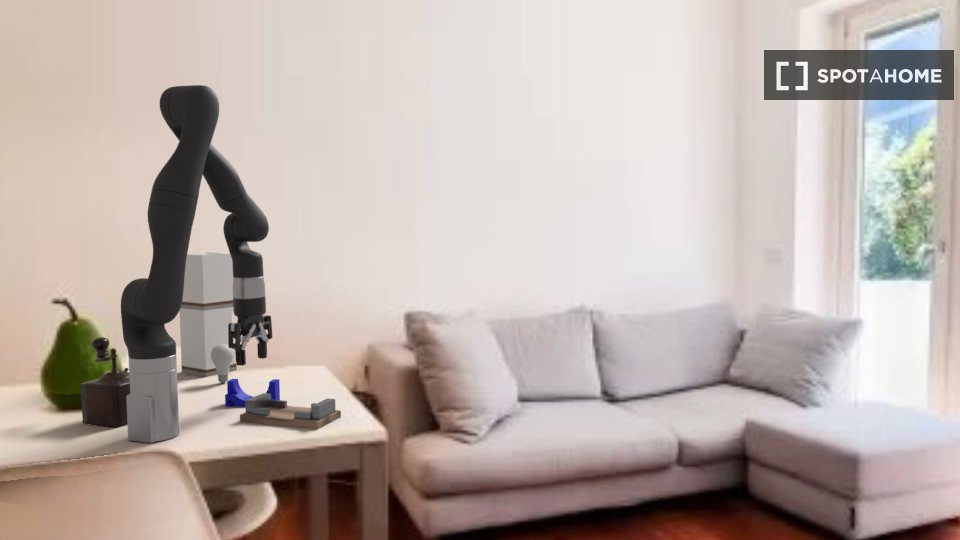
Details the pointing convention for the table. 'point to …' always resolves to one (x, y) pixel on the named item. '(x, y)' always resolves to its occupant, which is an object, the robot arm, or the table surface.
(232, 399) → the blue curved cradle
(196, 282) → the white square pillar
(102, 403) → the manual coffee grinder
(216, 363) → the lightbulb
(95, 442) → the table surface
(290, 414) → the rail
